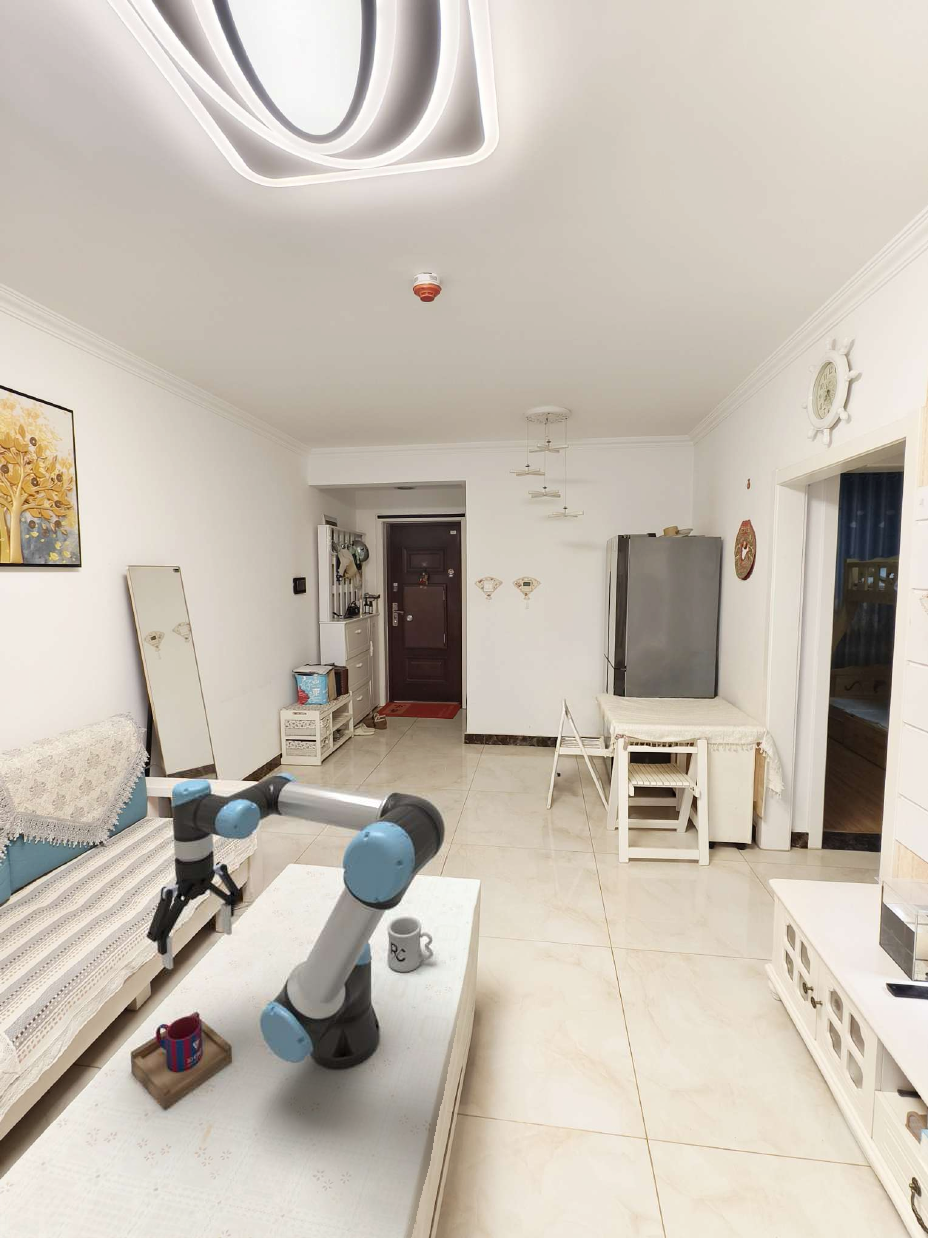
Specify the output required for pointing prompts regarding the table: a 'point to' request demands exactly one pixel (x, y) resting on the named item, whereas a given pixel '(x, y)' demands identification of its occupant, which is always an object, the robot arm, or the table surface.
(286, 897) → the table surface
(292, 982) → the robot arm
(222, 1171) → the table surface
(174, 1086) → the tan flat rimmed tray
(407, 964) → the mug
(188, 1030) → the cup
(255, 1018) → the table surface
